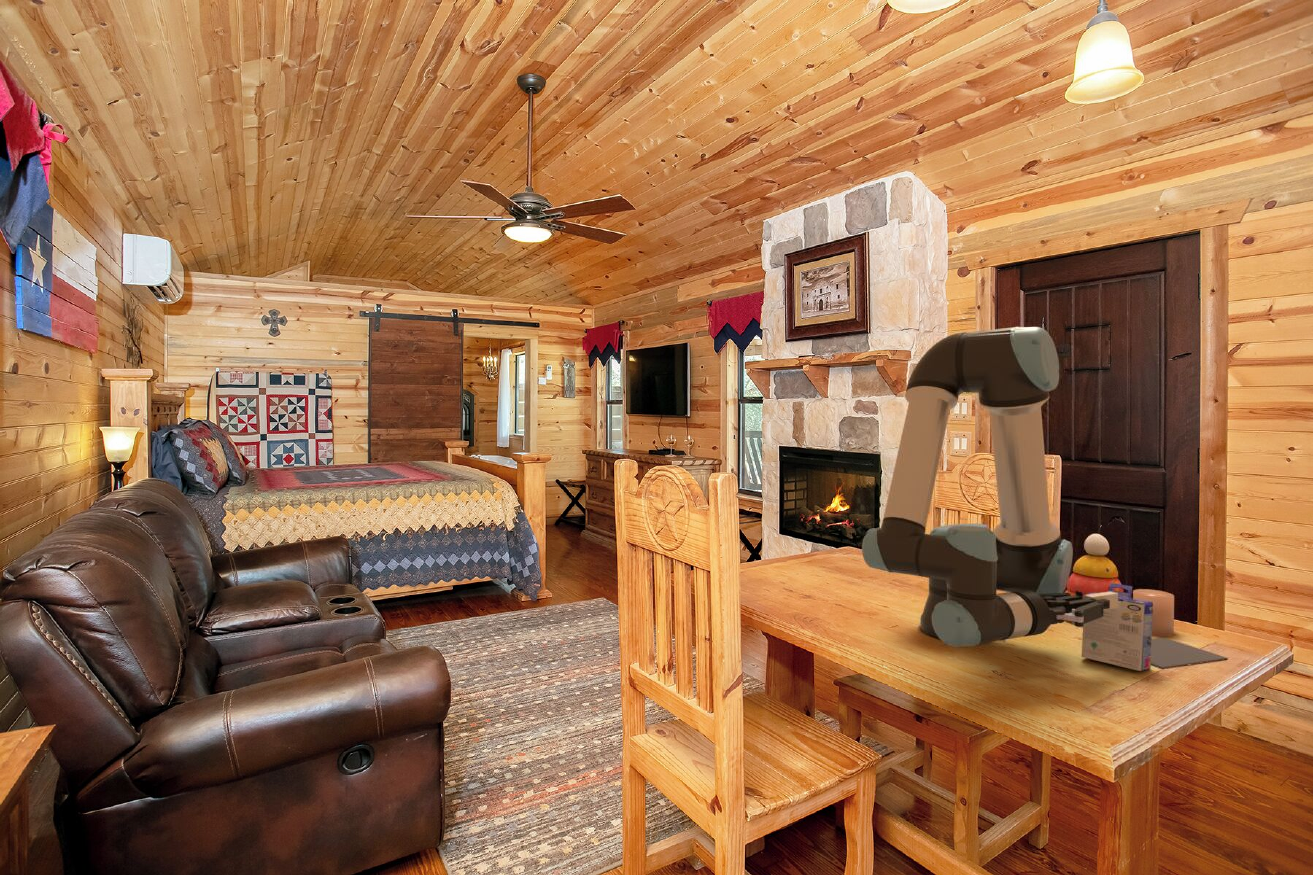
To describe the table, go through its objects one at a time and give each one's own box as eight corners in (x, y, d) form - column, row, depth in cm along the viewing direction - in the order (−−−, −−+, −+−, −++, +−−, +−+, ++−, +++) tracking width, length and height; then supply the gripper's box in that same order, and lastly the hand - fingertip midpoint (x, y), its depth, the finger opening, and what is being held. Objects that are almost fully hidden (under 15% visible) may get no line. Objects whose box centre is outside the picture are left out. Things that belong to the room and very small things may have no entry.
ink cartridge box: (1152, 668, 121) (1155, 589, 121) (1143, 673, 117) (1146, 591, 118) (1090, 653, 128) (1094, 579, 129) (1080, 657, 125) (1084, 581, 125)
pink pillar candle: (1124, 626, 144) (1125, 590, 144) (1149, 623, 146) (1150, 588, 146) (1156, 637, 137) (1156, 599, 137) (1182, 633, 139) (1182, 596, 139)
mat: (1102, 646, 132) (1102, 645, 132) (1164, 638, 136) (1164, 637, 136) (1162, 668, 121) (1162, 667, 121) (1227, 659, 125) (1227, 657, 125)
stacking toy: (1098, 632, 141) (1098, 542, 140) (1042, 613, 154) (1042, 530, 154) (1148, 625, 145) (1149, 537, 144) (1090, 607, 158) (1090, 527, 158)
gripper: (985, 624, 120) (1080, 610, 128) (1049, 648, 108) (1150, 630, 115) (985, 583, 120) (1080, 571, 127) (1049, 602, 107) (1150, 588, 115)
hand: (1113, 599), depth 121 cm, fingers closed
